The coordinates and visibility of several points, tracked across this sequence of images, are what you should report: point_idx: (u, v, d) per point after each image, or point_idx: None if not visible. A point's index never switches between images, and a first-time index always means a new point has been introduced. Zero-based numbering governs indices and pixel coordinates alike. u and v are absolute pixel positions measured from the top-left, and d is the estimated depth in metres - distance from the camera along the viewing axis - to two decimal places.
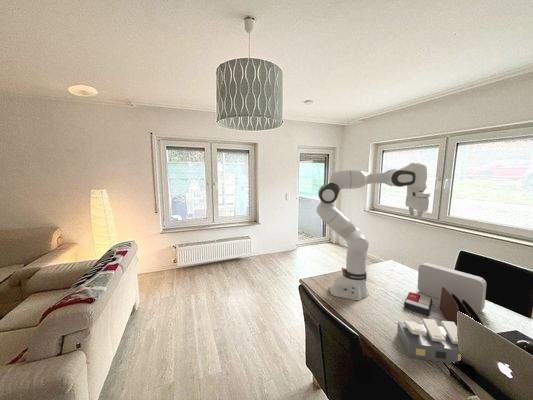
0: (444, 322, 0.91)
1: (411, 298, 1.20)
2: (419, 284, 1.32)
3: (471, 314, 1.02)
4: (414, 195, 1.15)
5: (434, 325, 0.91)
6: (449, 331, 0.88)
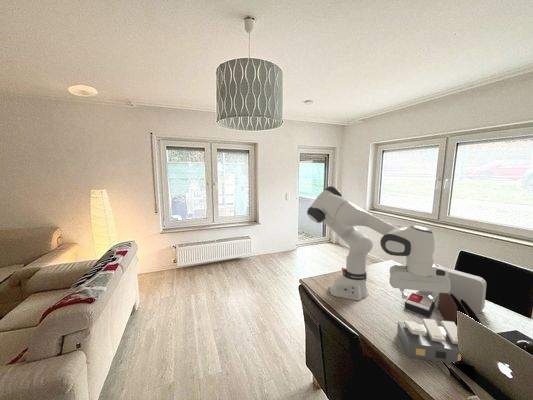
0: (444, 322, 0.91)
1: (412, 299, 1.20)
2: None
3: (469, 314, 1.03)
4: (442, 274, 0.81)
5: (434, 325, 0.91)
6: (449, 331, 0.88)
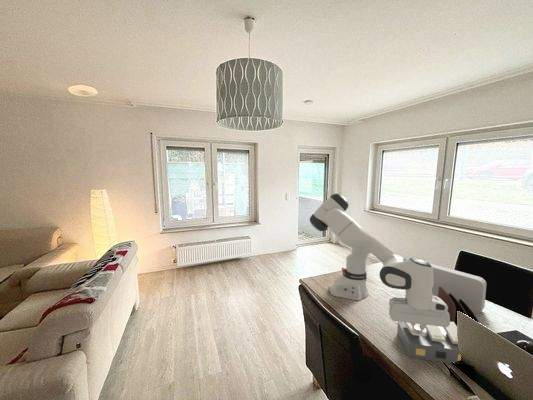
0: None
1: None
2: None
3: (468, 313, 1.03)
4: (441, 308, 0.81)
5: None
6: (449, 331, 0.88)
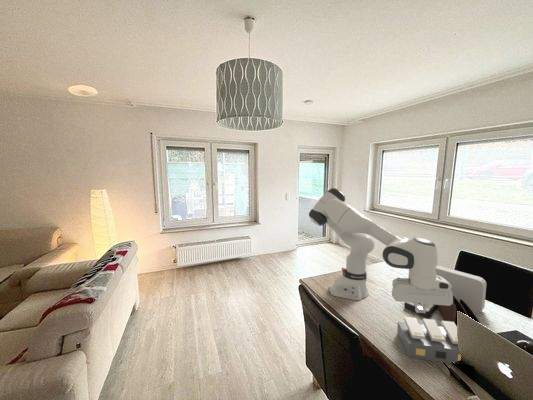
0: (444, 322, 0.91)
1: None
2: None
3: (468, 314, 1.03)
4: (445, 287, 0.81)
5: (434, 325, 0.91)
6: (449, 331, 0.88)
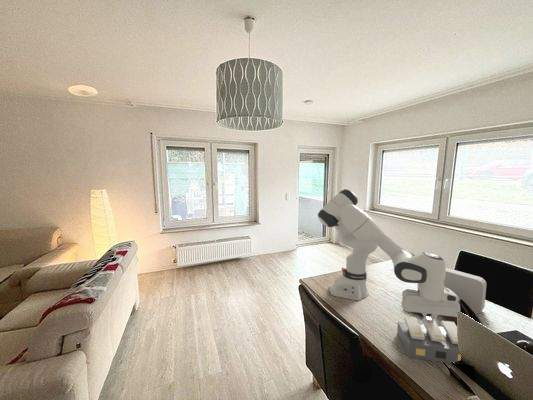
0: (444, 322, 0.91)
1: None
2: None
3: (469, 314, 1.03)
4: (452, 299, 0.86)
5: (434, 325, 0.91)
6: (449, 331, 0.88)
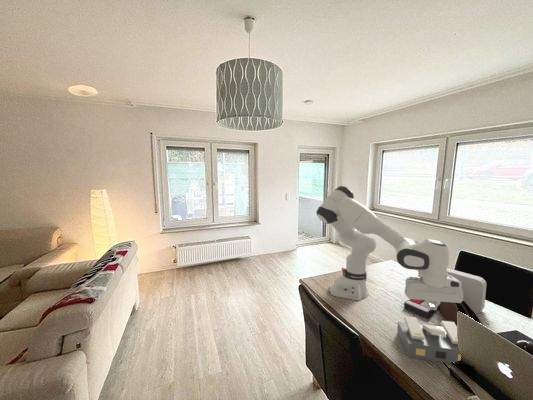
0: (444, 322, 0.91)
1: (414, 300, 1.19)
2: None
3: (470, 314, 1.03)
4: (456, 285, 0.86)
5: (433, 327, 0.91)
6: (449, 331, 0.88)
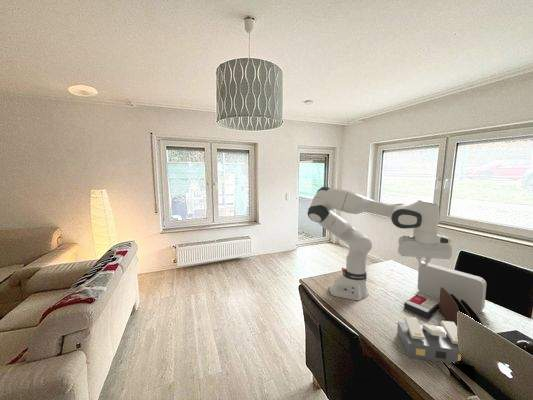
0: (444, 322, 0.91)
1: (414, 300, 1.18)
2: (419, 284, 1.32)
3: (470, 314, 1.02)
4: (445, 242, 0.93)
5: (433, 326, 0.91)
6: (449, 331, 0.88)
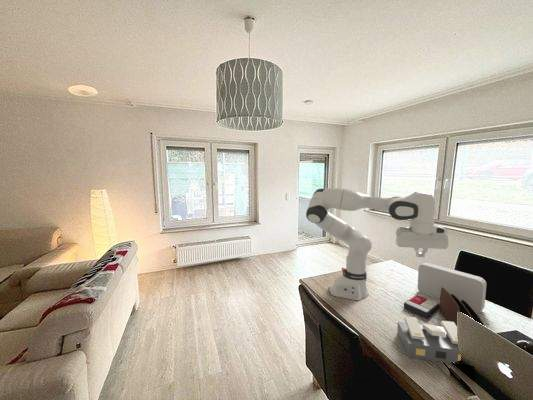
0: (444, 322, 0.91)
1: (414, 300, 1.18)
2: (419, 284, 1.32)
3: (471, 314, 1.02)
4: (441, 231, 0.95)
5: (433, 326, 0.91)
6: (449, 331, 0.88)
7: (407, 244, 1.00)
